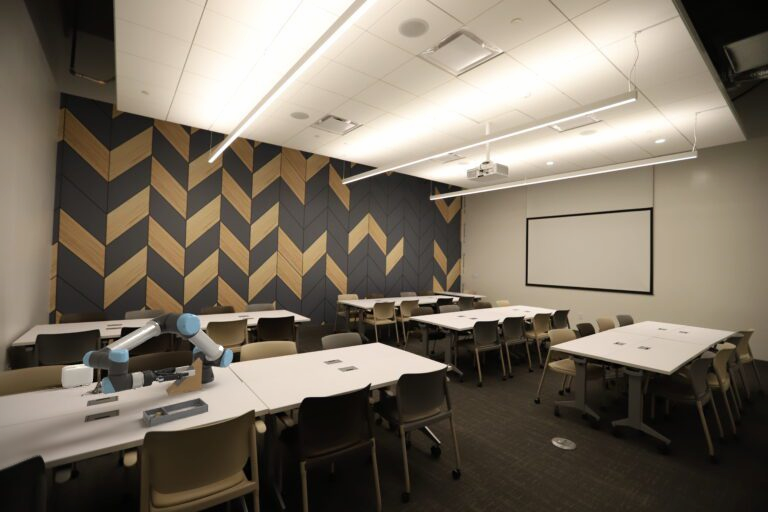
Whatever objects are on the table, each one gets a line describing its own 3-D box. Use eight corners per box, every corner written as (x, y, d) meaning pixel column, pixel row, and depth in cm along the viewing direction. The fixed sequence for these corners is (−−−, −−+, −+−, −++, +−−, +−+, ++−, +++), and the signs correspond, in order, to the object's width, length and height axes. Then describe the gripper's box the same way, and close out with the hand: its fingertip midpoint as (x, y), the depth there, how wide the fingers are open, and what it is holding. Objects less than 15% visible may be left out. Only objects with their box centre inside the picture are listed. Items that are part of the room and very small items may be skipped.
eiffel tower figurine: (116, 388, 221) (117, 366, 221) (112, 394, 212) (113, 371, 212) (85, 391, 214) (86, 369, 214) (80, 397, 205) (81, 374, 205)
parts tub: (199, 404, 200) (199, 397, 200) (208, 411, 191) (208, 404, 191) (142, 418, 181) (143, 411, 181) (149, 426, 172) (149, 419, 172)
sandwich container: (165, 389, 187) (166, 361, 187) (197, 384, 197) (198, 357, 197) (167, 395, 180) (169, 365, 180) (201, 389, 190) (202, 361, 190)
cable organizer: (60, 389, 214) (61, 370, 214) (61, 384, 222) (62, 366, 222) (92, 384, 224) (93, 366, 224) (92, 380, 232) (93, 362, 232)
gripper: (136, 381, 182) (185, 372, 198) (147, 393, 167) (198, 382, 184) (137, 366, 182) (185, 359, 198) (147, 377, 167) (199, 367, 184)
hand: (191, 370), depth 191 cm, fingers closed on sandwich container, 8 cm apart
